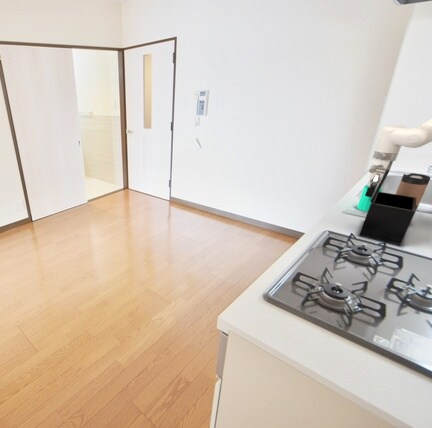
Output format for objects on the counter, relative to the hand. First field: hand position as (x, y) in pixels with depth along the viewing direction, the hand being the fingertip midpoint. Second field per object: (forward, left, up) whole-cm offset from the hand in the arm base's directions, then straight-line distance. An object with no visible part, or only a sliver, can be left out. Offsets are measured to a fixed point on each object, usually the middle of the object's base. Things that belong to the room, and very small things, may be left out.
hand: (370, 193), depth 126 cm
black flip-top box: (+1, +25, -8) cm, 26 cm away
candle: (0, 0, -8) cm, 8 cm away
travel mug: (-8, +11, -8) cm, 16 cm away
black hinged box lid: (+5, +23, +13) cm, 27 cm away
